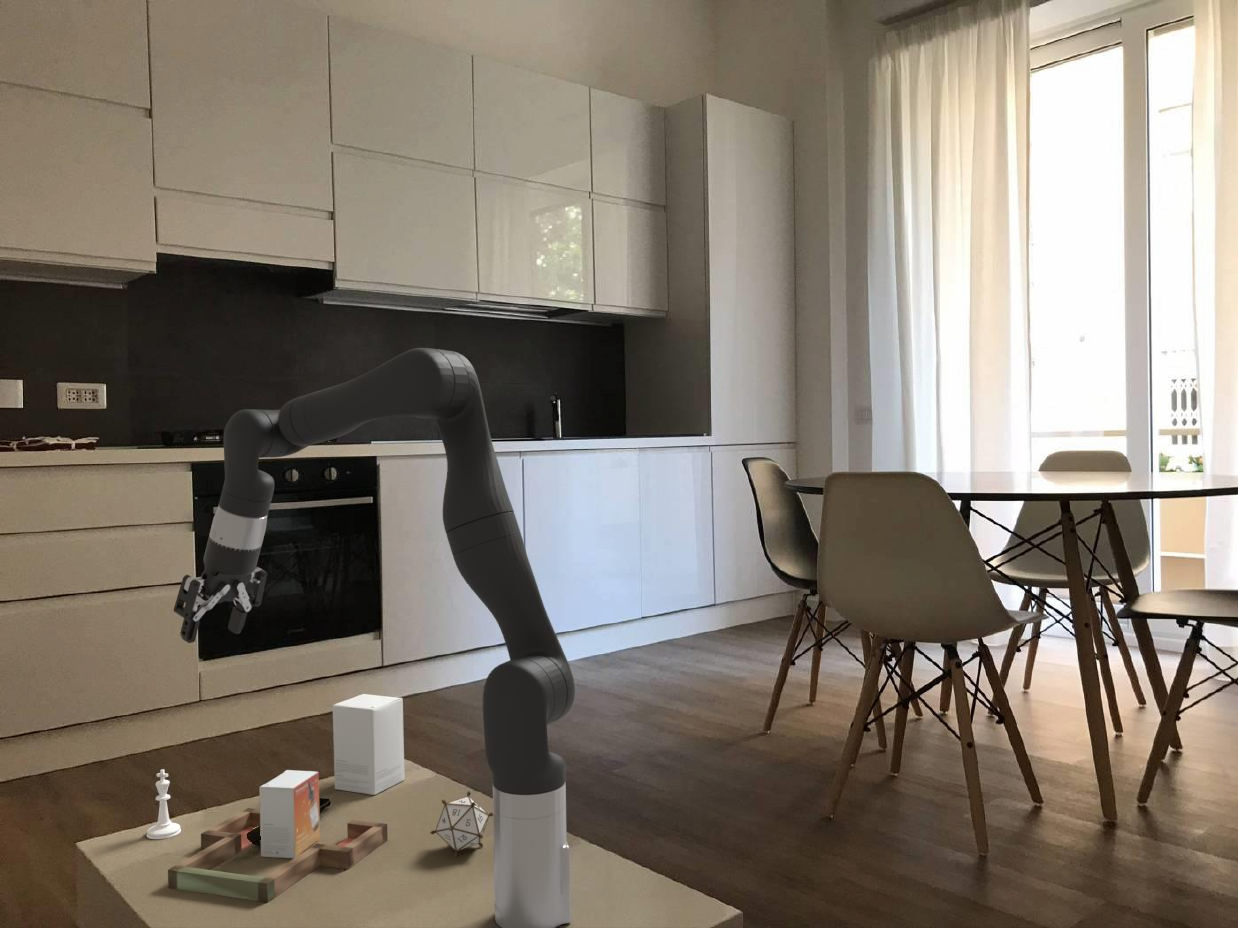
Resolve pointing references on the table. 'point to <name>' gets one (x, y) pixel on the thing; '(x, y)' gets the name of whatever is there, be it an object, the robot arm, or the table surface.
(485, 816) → the game die
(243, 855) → the table surface
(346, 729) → the supplement box
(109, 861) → the table surface
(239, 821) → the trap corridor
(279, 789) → the small box
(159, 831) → the chess piece
